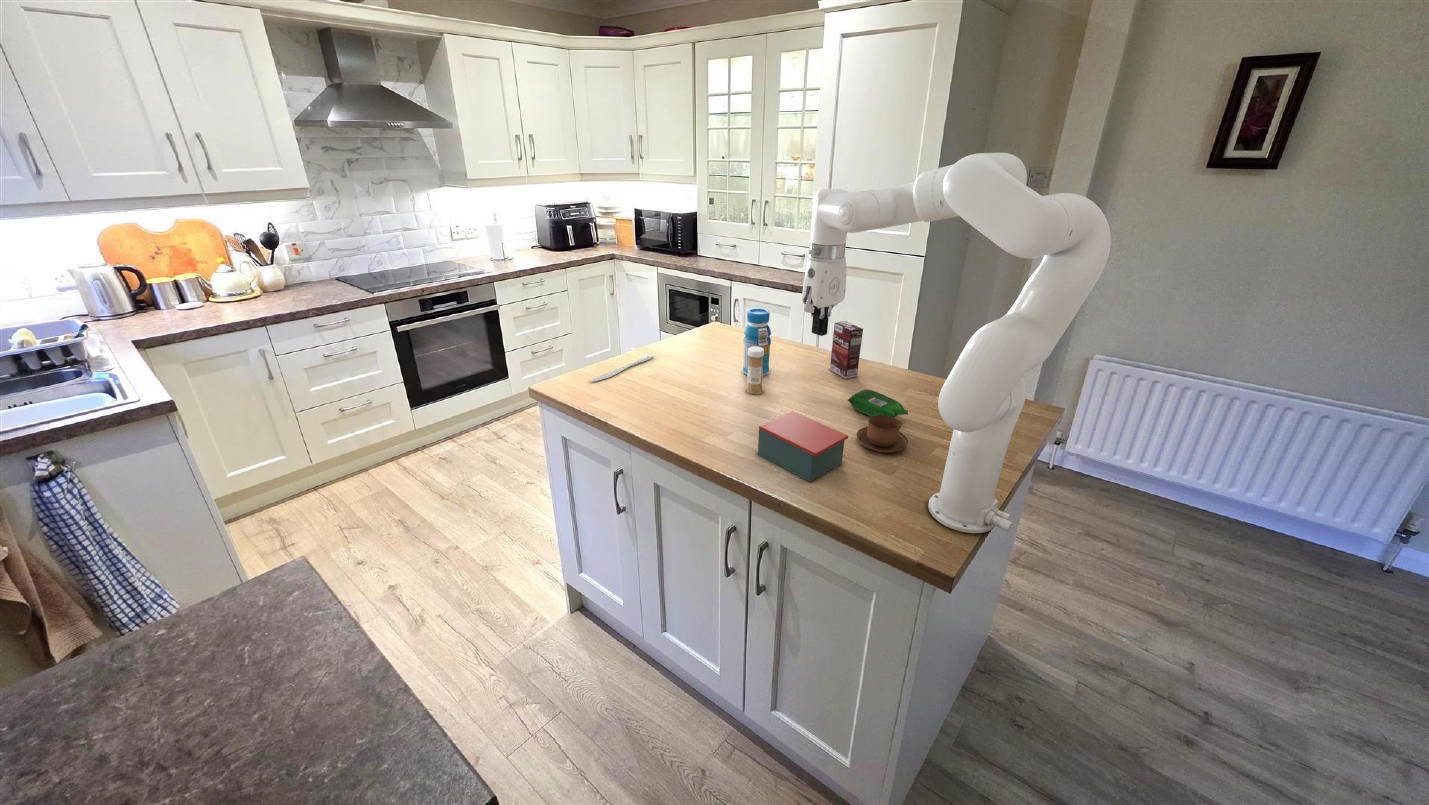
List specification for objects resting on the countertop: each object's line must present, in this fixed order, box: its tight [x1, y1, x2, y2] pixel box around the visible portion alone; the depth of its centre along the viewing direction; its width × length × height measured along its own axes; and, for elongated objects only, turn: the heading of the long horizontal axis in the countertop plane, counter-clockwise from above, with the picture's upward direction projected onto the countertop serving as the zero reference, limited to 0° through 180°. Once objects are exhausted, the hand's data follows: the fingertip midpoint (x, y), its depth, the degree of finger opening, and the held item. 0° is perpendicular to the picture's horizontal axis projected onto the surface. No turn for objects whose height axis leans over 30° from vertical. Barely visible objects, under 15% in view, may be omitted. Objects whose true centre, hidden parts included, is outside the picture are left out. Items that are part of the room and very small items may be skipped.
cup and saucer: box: [856, 415, 909, 454], centre depth 132 cm, size 12×12×6 cm
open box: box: [757, 428, 846, 483], centre depth 126 cm, size 16×12×7 cm
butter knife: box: [590, 355, 654, 383], centre depth 176 cm, size 1×27×3 cm
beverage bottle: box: [742, 307, 772, 377], centre depth 170 cm, size 8×8×20 cm
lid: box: [758, 410, 849, 456], centre depth 124 cm, size 16×12×1 cm
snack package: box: [847, 388, 909, 419], centre depth 147 cm, size 7×16×5 cm, turn 35°
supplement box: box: [829, 320, 864, 380], centre depth 170 cm, size 9×5×16 cm, turn 25°
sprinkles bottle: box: [746, 346, 764, 395], centre depth 158 cm, size 5×5×13 cm
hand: (819, 333), depth 125 cm, fingers closed
